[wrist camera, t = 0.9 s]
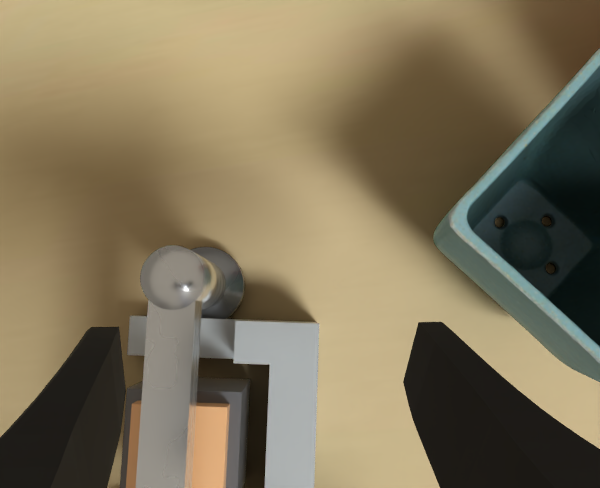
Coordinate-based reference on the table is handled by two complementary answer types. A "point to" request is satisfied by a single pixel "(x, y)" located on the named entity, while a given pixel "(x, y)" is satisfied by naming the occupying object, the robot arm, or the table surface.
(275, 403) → the socket
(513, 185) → the flower pot
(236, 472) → the orange and grey block
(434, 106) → the table surface
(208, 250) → the door handle base
